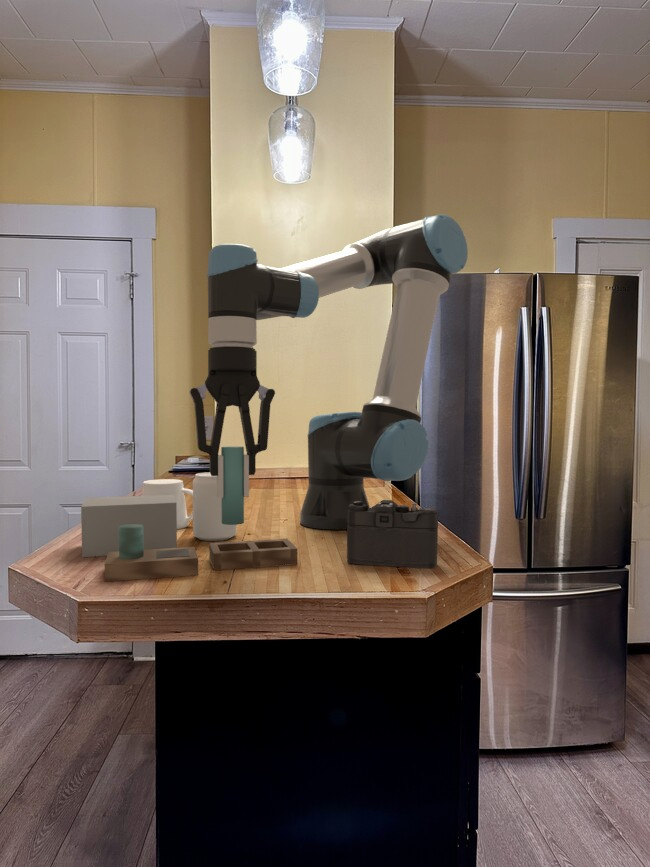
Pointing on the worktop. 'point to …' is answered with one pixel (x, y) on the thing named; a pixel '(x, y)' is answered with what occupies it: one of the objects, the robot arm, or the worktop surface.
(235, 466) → the pin
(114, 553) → the board
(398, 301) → the robot arm
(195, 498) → the beverage can
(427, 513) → the camera
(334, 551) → the worktop surface
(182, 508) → the mug
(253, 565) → the board
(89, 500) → the cover
